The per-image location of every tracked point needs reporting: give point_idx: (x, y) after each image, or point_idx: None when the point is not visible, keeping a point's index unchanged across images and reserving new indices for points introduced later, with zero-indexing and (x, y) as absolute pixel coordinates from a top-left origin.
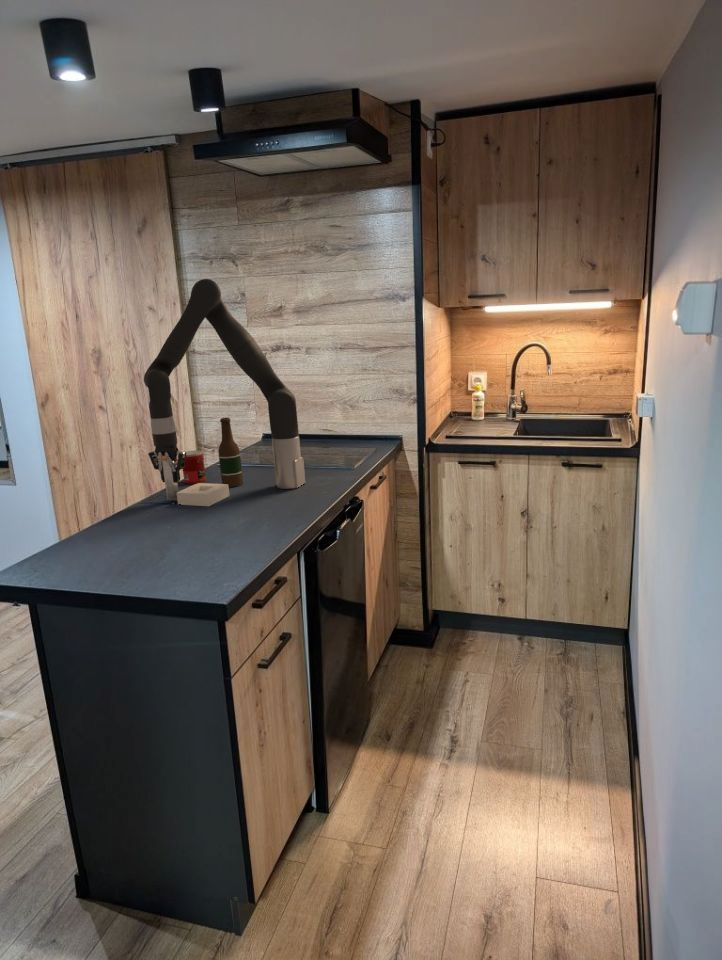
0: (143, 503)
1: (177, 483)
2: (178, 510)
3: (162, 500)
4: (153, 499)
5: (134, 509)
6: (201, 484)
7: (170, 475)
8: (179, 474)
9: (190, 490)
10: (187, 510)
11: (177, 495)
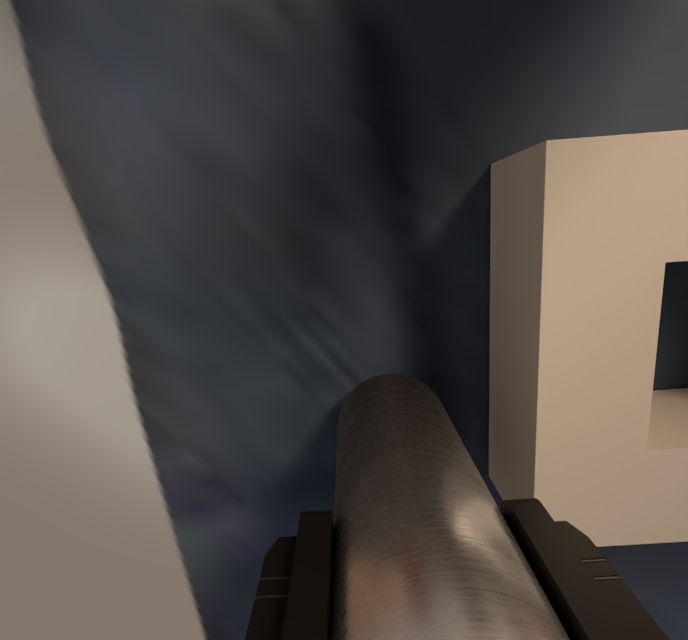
0: (170, 515)
1: (487, 488)
2: None
3: (264, 415)
4: (158, 411)
5: (230, 636)
6: (640, 199)
7: None
8: (638, 610)
9: (646, 454)
10: (659, 568)
11: None
